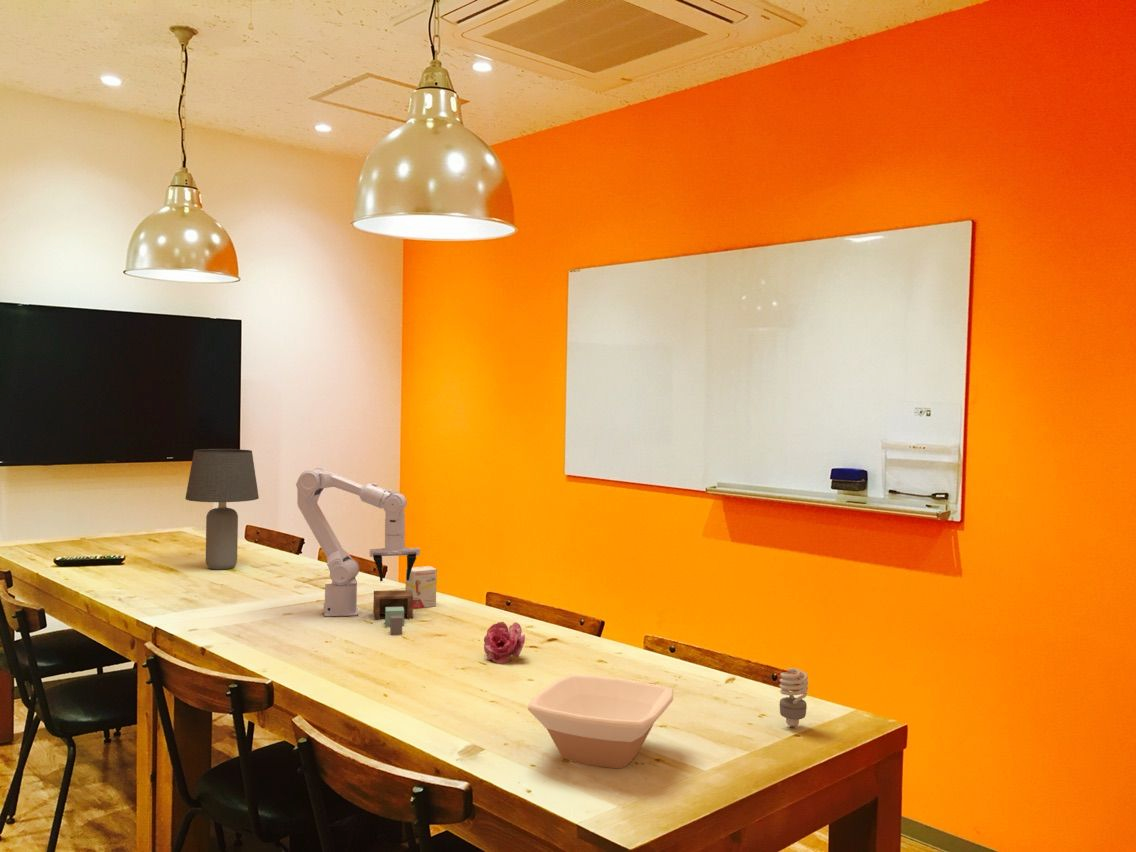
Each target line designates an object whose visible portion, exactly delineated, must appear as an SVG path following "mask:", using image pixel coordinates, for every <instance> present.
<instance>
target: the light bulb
mask: <svg viewBox="0 0 1136 852" xmlns="http://www.w3.org/2000/svg"><path fill="white" fill-rule="evenodd" d="M787 671H788V672H781V673H780V677H781V678H780V679H779V682H780V684H779V692H780V694H782V695H785V696H786V697H782V698H781V699H780V700H779V703H778V704H779V714H780V716H782V717H783V718H785V723H786V724H787V725H788V726H789V727H791V728H795V727H797V726H798V725H799V724H800V720H802V719H804V718H805V717H806V715H807V709H808V707H807V702H806V701H805V700H804V698H806V697H807V695H808V690H809V687H808V685H809V681H808V678H809V677H808V674H807V673H806V672H804V671H803V670H801V669H799V668H794V667H788V668H787ZM795 696H798V697H795Z"/></svg>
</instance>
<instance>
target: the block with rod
mask: <svg viewBox="0 0 1136 852" xmlns="http://www.w3.org/2000/svg"><path fill="white" fill-rule="evenodd" d="M384 615H385V616H384V624H385V628H389V629H390V631H389V633H390V635H392V636H393V635H394V636H396V635H399V636H400V635H401V636H402V635H403V626H404V627H405V613H404V608H403V607H385V614H384Z"/></svg>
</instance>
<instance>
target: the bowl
mask: <svg viewBox="0 0 1136 852" xmlns="http://www.w3.org/2000/svg"><path fill="white" fill-rule="evenodd" d="M673 700H674V690H673V688H671V687H668V686H663V685H659V684H654V683H650V682H646V681H645V682H644V681H637V680H633V679H632V680H631V679H626V678H618V677H609V676H599V675H592V674H590V675H589V674H575V673H574V674H572V673H571V674H567V675H565V676H562V677H560V678H558V679H555V680H554V681H553V682H551V683H550V684H548V685H547V686H546V687H544V688H543V689H541V690H540V691H539V692H538V693H536V694H535V695H534V696H533V697H532V698H531V699H530V702H529V703H528V706H527V711H529V712H530V713H531V715H532V716H534V718H535V719H536V720H537V721H538V722H539V723H540V724H541V725H542V726H543V727H544V728H545V729H546V730H547V732H548V734H549V735H550V737H551V739H552V741H553V743H554V745H555V746H556V748H557V751H558V752H559V754H560V756H561V758H562V759H565V760H567V761H571V762H574V763H578V764H582V765H587V766H594V767H599V768H600V767H601V768H606V769H607V768H608V769H609V768H610V769H623V768H624V767H626V766H628V765H629V764H630V763H631V762H632V761H633V760H634V758H635V757H636V756H637V755H638V753H640V750H641V749H642V747H643V745H644V743H645V741H646V739H647V737H648V735H649V734H650V732H651V730H652V729H653V726H654V724H655V723H656V721H657V720H659V718H660V717H661V716H662V714H664V712H665V711H666V710H667V709H668V707H669V706H670V704H671V703H672V702H673Z"/></svg>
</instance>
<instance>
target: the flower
mask: <svg viewBox="0 0 1136 852" xmlns="http://www.w3.org/2000/svg"><path fill="white" fill-rule="evenodd" d="M512 623H513V624H511V625H509V626H508V625H507V624H506V623H505V622H504V621H499V622H497V623H493V624H492V625H491V626H489V627H488V630H487V632H486V635H485V636H484V638H483V642H484V643H483V649H484V650H483V651H484V653H485V655H487V656H486V657H487V660H489V661H490V660H491V661H492V662H494V663H497V664H499V665H500V664H501V665H502V664H507V663H508V662H509V661H510V658H511V657H512V656H513V657H515V658H519V656H520V654H521V652H522V650H523V648H524V645H525V644H526V643H525V641H526V634H522V633H523V631H522V626H521V625H520V623H518V622H517V621H516V622H512Z"/></svg>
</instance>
